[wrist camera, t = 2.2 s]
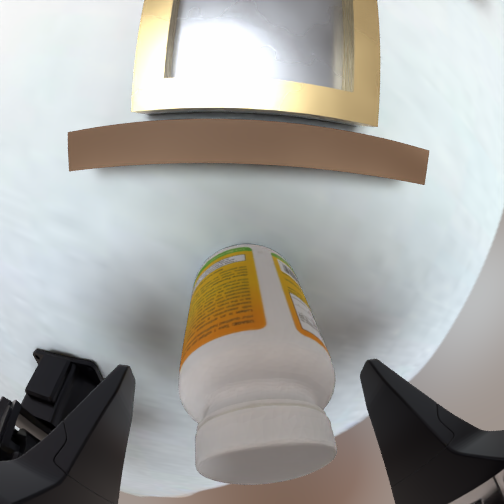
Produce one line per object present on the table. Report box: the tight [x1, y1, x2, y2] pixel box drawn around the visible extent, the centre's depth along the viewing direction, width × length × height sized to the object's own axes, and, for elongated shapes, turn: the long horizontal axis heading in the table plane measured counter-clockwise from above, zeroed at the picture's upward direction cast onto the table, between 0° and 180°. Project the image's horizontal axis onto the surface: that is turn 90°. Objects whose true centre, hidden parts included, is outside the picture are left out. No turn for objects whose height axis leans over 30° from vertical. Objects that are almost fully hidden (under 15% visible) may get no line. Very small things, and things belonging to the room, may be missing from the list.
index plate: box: [131, 0, 380, 127], centre depth 8 cm, size 10×10×2 cm
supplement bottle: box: [178, 244, 337, 485], centre depth 10 cm, size 5×5×10 cm
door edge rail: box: [68, 119, 429, 185], centre depth 10 cm, size 2×15×2 cm, turn 87°
